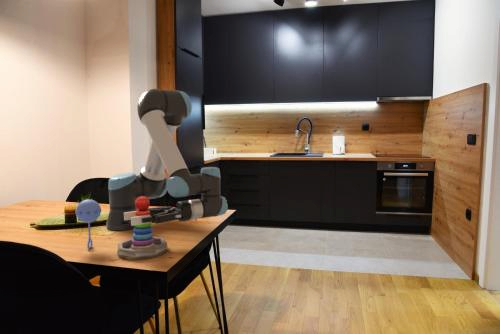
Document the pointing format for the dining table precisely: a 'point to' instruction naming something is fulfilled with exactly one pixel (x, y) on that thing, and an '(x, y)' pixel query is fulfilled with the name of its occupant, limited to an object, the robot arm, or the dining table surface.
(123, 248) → the plate
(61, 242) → the dining table surface
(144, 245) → the stacking toy
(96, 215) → the baby rattle
